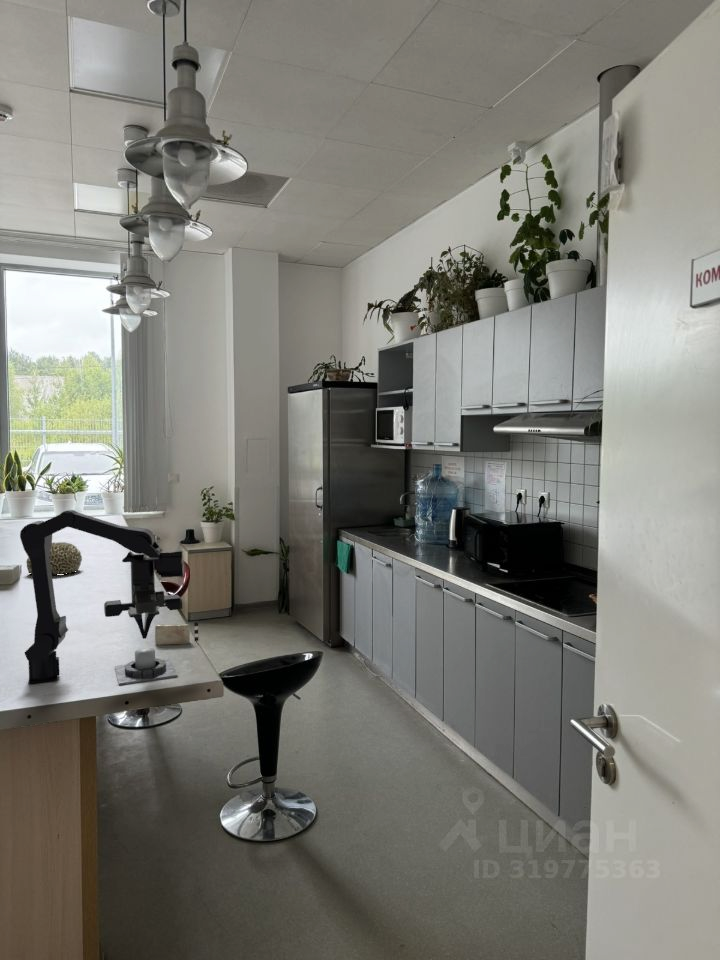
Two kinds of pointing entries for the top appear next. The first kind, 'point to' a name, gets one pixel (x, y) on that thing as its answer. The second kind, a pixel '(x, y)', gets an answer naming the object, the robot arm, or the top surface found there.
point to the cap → (145, 658)
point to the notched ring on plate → (144, 672)
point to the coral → (62, 558)
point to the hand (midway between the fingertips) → (144, 638)
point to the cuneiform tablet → (174, 634)
